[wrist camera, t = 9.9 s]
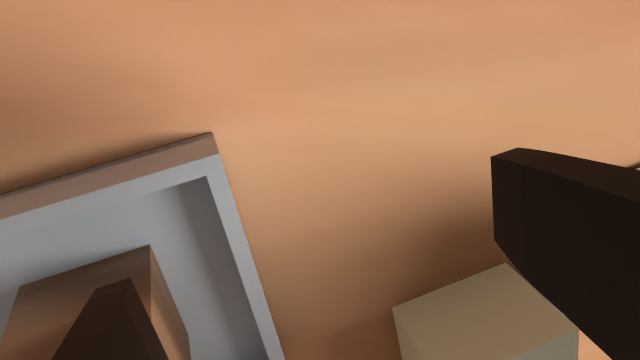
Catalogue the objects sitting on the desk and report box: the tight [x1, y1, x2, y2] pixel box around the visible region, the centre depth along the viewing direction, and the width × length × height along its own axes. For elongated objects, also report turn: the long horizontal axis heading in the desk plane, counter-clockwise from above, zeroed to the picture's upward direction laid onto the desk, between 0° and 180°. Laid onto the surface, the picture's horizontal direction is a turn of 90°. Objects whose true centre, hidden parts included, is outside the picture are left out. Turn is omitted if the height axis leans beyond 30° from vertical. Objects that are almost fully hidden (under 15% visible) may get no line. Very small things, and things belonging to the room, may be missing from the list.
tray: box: [0, 132, 285, 360], centre depth 19 cm, size 11×11×2 cm
